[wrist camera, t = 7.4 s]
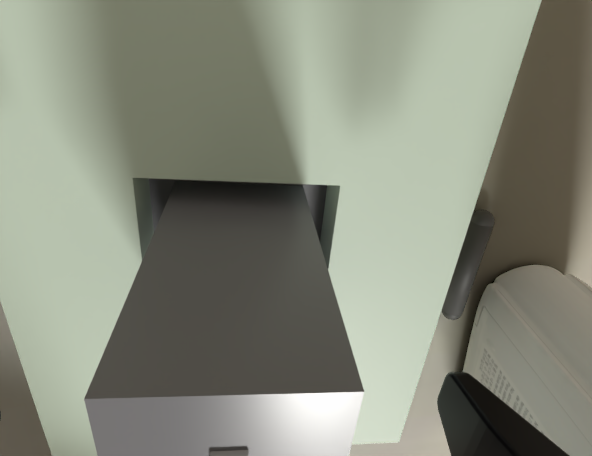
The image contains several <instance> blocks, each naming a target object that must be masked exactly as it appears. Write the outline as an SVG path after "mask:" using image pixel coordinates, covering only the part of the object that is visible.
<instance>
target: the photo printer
mask: <svg viewBox="0 0 592 456" xmlns="http://www.w3.org/2000/svg"><path fill="white" fill-rule="evenodd" d="M463 372H466V373H468V374H470V375H471V376H473V377H474V378H475V379H476V380H478V381H479V382H480V383H481V384H483V385H484V386H485V387H486V388H487V389H489V390H490V391H491V392H492V393H494V394H495V395H496V396H497V397H498V398H500V399H501V400H502V401H503V402H505V403H506V404H507V405H508V406H509V407H511V408H512V409H513V410H514V411H516V412H517V413H518V414H519V415H521V416H522V417H523V418H524V419H525V420H527V421H528V422H529V423H530V424H532V425H533V426H534V427H535V428H536V429H538V430H539V431H540V432H541V433H543V434H544V435H545V436H546V437H547V438H549V439H550V440H551V441H552V442H554V443H555V444H556V445H557V446H558V447H560V448H561V449H562V450H563V451H565V452H566V453H567V454H568V455H570V456H592V288H591V287H590V286H588V285H587V284H586V283H584V282H583V281H581V280H580V279H578V278H577V277H575V276H573V275H570V274H568V275H563V274H562V273H561V272H559V271H558V270H556V269H554V268H552V267H549V266H544V265H528V266H522V267H519V268H515V269H512V270H510V271H508V272H505V273H503V274H501V275H500V276H498V277H497V278H496V279H495V281H494V283H492V284H489V285H488V286H487V287H486V289H485V291H484V293H483V295H482V298H481V300H480V302H479V305H478V308H477V312H476V315H475V320H474V324H473V328H472V332H471V336H470V341H469V345H468V350H467V354H466V359H465V364H464V368H463Z"/></svg>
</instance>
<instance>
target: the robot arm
mask: <svg viewBox="0 0 592 456" xmlns="http://www.w3.org/2000/svg"><path fill="white" fill-rule="evenodd" d="M437 404H438V410H439V414H440V418H441V421H442V425H443V428H444V432H445V435H446V439H447V442H448V446H449V449H450V453H451V456H570V455H568V454H567V453H566V452H565V451H563V450H562V449H561V448H560V447H558V446H557V445H556V444H555V443H554V442H552V441H551V440H550V439H549V438H547V437H546V436H545V435H544V434H543V433H541V432H540V431H539V430H538V429H536V428H535V427H534V426H533V425H532V424H530V423H529V422H528V421H527V420H525V419H524V418H523V417H522V416H521V415H519V414H518V413H517V412H516V411H514V410H513V409H512V408H511V407H509V406H508V405H507V404H506V403H505V402H503V401H502V400H501V399H500V398H498V397H497V396H496V395H495V394H494V393H492V392H491V391H490V390H489V389H487V388H486V387H485V386H484V385H483V384H481V383H480V382H479V381H478V380H476V379H475V378H474V377H473V376H471V375H470V374H468V373H466V372H451V373H448V374H447V375H446V377H445V380H444V382H443V385H442V388H441V390H440V393H439V396H438V401H437ZM0 419H1V412H0Z"/></svg>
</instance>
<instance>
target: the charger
mask: <svg viewBox="0 0 592 456" xmlns="http://www.w3.org/2000/svg"><path fill="white" fill-rule="evenodd" d="M363 395H364V389H363V386H362V382H361V379H360V375H359V372H358V369H357V365H356V362H355V359H354V355H353V352H352V349H351V345H350V342H349V339H348V335H347V332H346V329H345V325H344V322H343V319H342V315H341V312H340V308H339V305H338V302H337V298H336V295H335V292H334V288H333V285H332V282H331V278H330V275H329V272H328V268H327V265H326V262H325V258H324V255H323V252H322V248H321V245H320V241H319V238H318V235H317V231H316V228H315V225H314V221H313V218H312V215H311V211H310V208H309V205H308V201H307V198H306V195H305V191H304V188H303V186H287V185H263V184H239V183H215V182H191V181H176V182H175V184H174V186H173V189H172V191H171V194H170V196H169V198H168V201H167V203H166V205H165V208H164V210H163V213H162V215H161V217H160V220H159V222H158V224H157V227H156V229H155V232H154V234H153V236H152V239H151V241H150V243H149V246H148V248H147V251H146V253H145V255H144V258H143V260H142V262H141V265H140V267H139V270H138V272H137V274H136V277H135V279H134V281H133V284H132V286H131V289H130V291H129V293H128V296H127V298H126V301H125V303H124V305H123V308H122V310H121V312H120V315H119V317H118V320H117V322H116V324H115V327H114V329H113V331H112V334H111V336H110V339H109V341H108V343H107V346H106V348H105V350H104V353H103V355H102V358H101V360H100V362H99V365H98V367H97V369H96V372H95V374H94V377H93V379H92V381H91V384H90V386H89V388H88V391H87V393H86V396H85V398H84V401H85V405H86V409H87V413H88V418H89V422H90V426H91V430H92V434H93V439H94V443H95V447H96V451H97V455H98V456H349V453H350V449H351V445H352V441H353V437H354V433H355V428H356V424H357V420H358V416H359V412H360V408H361V404H362V400H363Z"/></svg>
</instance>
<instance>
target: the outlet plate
mask: <svg viewBox="0 0 592 456" xmlns="http://www.w3.org/2000/svg"><path fill="white" fill-rule="evenodd" d="M540 4H541V0H0V302H1V305H2V308H3V311H4V314H5V317H6V320H7V323H8V326H9V329H10V332H11V335H12V338H13V341H14V344H15V347H16V350H17V353H18V356H19V359H20V362H21V365H22V368H23V371H24V374H25V377H26V380H27V383H28V386H29V389H30V392H31V395H32V398H33V401H34V404H35V407H36V410H37V413H38V416H39V419H40V422H41V425H42V428H43V431H44V434H45V437H46V440H47V443H48V446H49V449H50V452H51V455H52V456H98V455H97V451H96V447H95V443H94V439H93V434H92V430H91V426H90V422H89V418H88V413H87V409H86V405H85V401H84V398H85V396H86V393H87V391H88V388H89V386H90V384H91V381H92V379H93V377H94V374H95V372H96V369H97V367H98V365H99V362H100V360H101V358H102V355H103V353H104V350H105V348H106V346H107V343H108V341H109V339H110V336H111V334H112V331H113V329H114V327H115V324H116V322H117V320H118V317H119V315H120V312H121V310H122V308H123V305H124V303H125V301H126V298H127V296H128V293H129V291H130V289H131V286H132V284H133V281H134V279H135V277H136V274H137V272H138V270H139V267H140V265H141V262H142V260H143V258H144V255H145V253H146V251H147V248H148V246H149V243H150V241H151V239H152V236H153V234H154V232H155V229H156V227H157V224H158V222H159V220H160V217H161V215H162V213H163V210H164V208H165V205H166V203H167V201H168V198H169V196H170V194H171V191H172V189H173V186H174V184H175V182H176V181H191V182H215V183H239V184H263V185H287V186H303V188H304V191H305V195H306V198H307V201H308V205H309V208H310V211H311V215H312V218H313V221H314V225H315V228H316V231H317V235H318V238H319V241H320V245H321V248H322V252H323V255H324V258H325V262H326V265H327V268H328V272H329V275H330V278H331V282H332V285H333V288H334V292H335V295H336V298H337V302H338V305H339V308H340V312H341V315H342V319H343V322H344V325H345V329H346V332H347V335H348V339H349V342H350V345H351V349H352V352H353V355H354V359H355V362H356V365H357V369H358V372H359V375H360V379H361V382H362V386H363V389H364V395H363V400H362V404H361V408H360V412H359V416H358V420H357V424H356V428H355V433H354V437H353V441H352V444H374V443H395V442H399V440H400V437H401V434H402V431H403V428H404V425H405V422H406V419H407V415H408V412H409V409H410V406H411V403H412V400H413V397H414V394H415V391H416V388H417V385H418V381H419V378H420V375H421V372H422V369H423V366H424V363H425V360H426V357H427V354H428V350H429V347H430V344H431V341H432V338H433V335H434V332H435V329H436V326H437V323H438V319H439V316H440V313H441V310H442V313H443V315H444V316H445V317H446V318H448V319H451V320H455V319H458V318H459V317H460V316H461V315H462V313H463V310H464V307H465V304H466V302H467V299H468V296H469V293H470V290H471V287H472V285H473V282H474V279H475V276H476V273H477V271H478V268H479V265H480V262H481V259H482V257H483V254H484V251H485V248H486V245H487V243H488V240H489V237H490V234H491V231H492V228H493V226H494V217H493V215H492V214H491V213H490V212H488V211H486V210H478V211H476V212H474V213H473V211H474V208H475V205H476V202H477V199H478V196H479V192H480V189H481V186H482V183H483V180H484V177H485V174H486V171H487V168H488V165H489V162H490V158H491V155H492V152H493V149H494V146H495V143H496V140H497V137H498V134H499V131H500V127H501V124H502V121H503V118H504V115H505V112H506V109H507V106H508V103H509V100H510V96H511V93H512V90H513V87H514V84H515V81H516V78H517V75H518V72H519V69H520V66H521V62H522V59H523V56H524V53H525V50H526V47H527V44H528V41H529V38H530V35H531V31H532V28H533V25H534V22H535V19H536V16H537V13H538V10H539V7H540Z"/></svg>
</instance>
